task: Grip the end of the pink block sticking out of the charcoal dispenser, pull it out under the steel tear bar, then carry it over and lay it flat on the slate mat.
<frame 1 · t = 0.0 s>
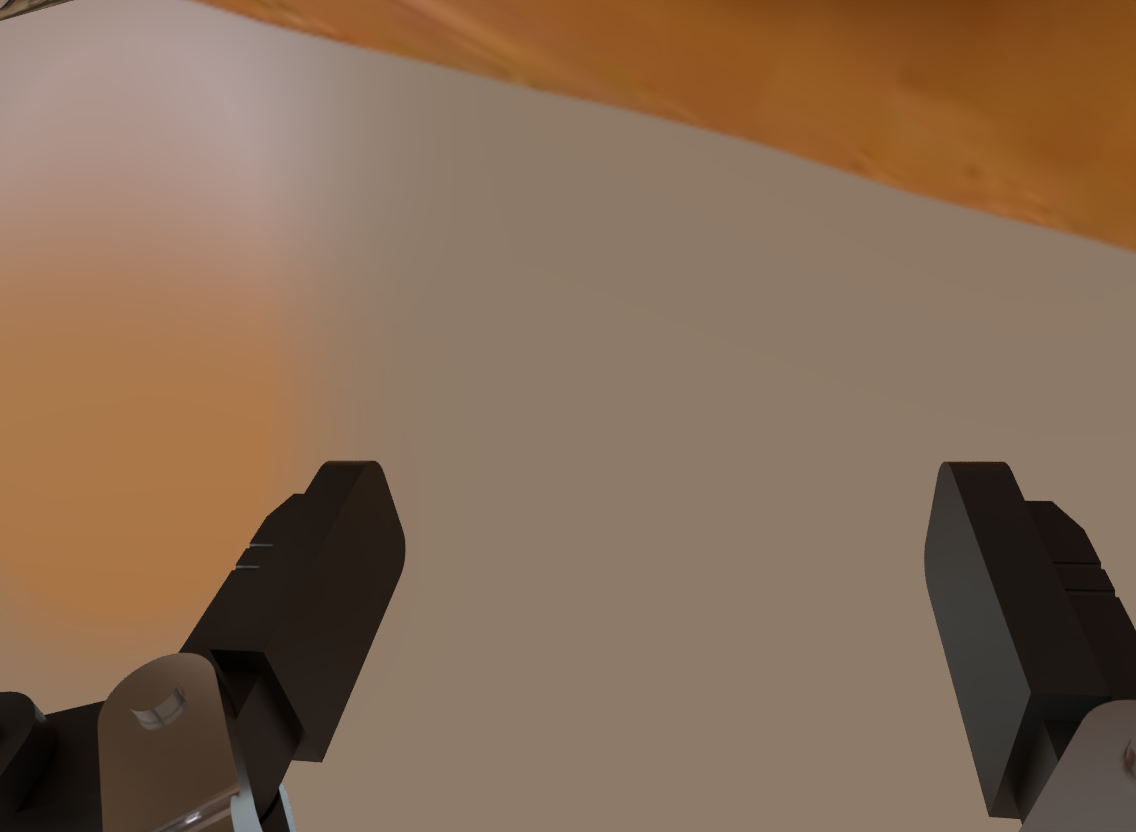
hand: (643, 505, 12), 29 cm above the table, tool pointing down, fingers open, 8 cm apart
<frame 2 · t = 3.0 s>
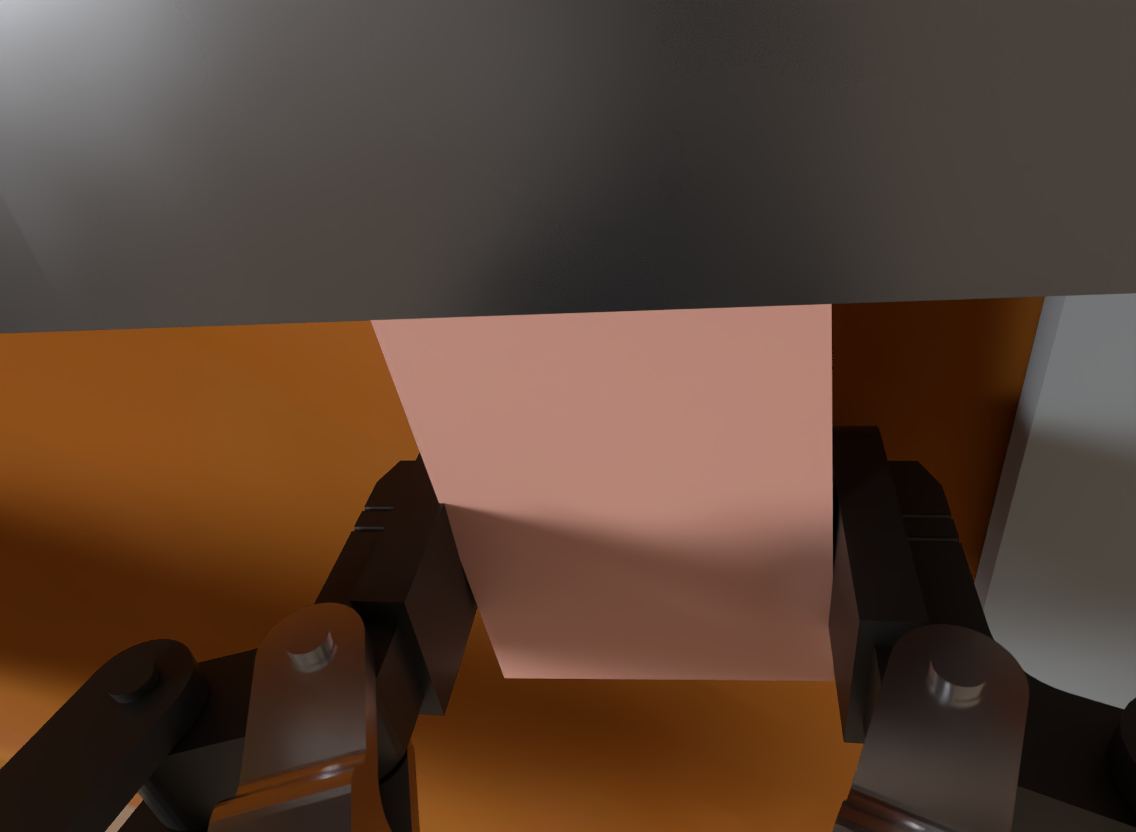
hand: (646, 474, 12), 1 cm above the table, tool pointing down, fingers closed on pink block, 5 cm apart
pink block: (608, 159, 11), on the table, touching gripper
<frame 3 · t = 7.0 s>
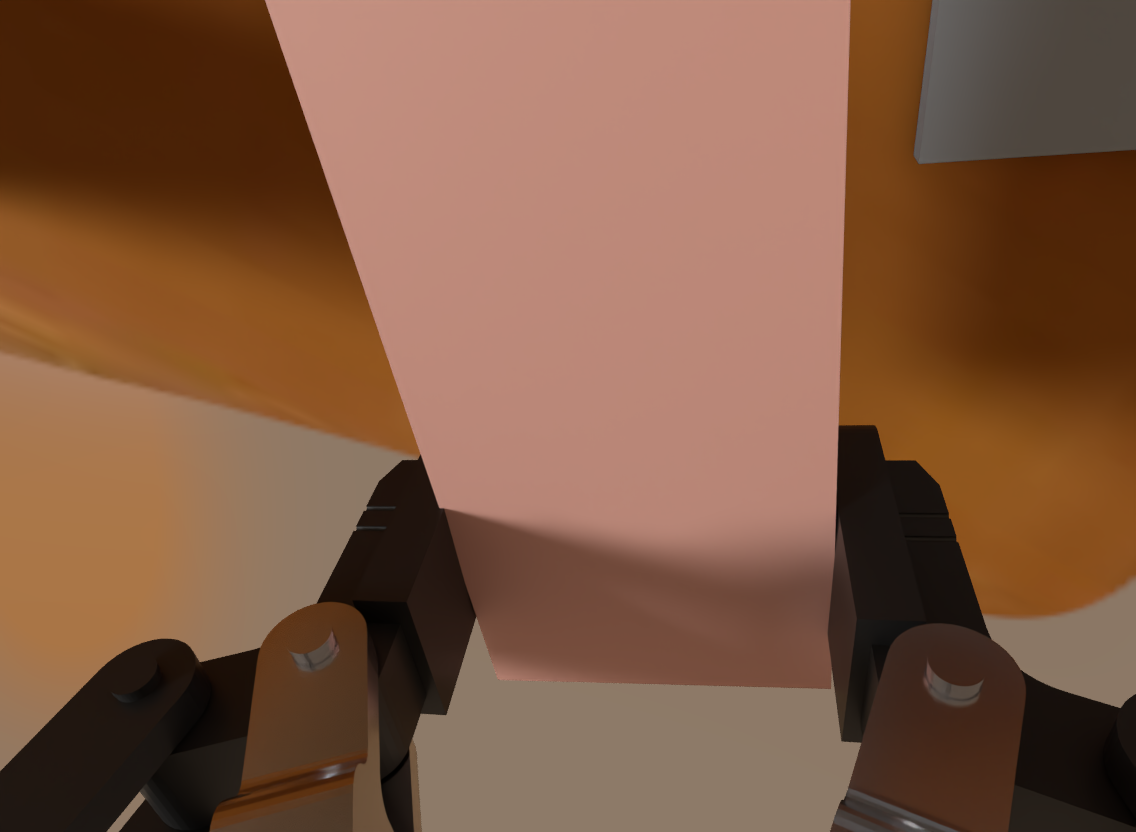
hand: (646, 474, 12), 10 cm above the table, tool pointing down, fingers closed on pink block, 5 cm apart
pink block: (616, 157, 11), point 9 cm above the table, touching gripper
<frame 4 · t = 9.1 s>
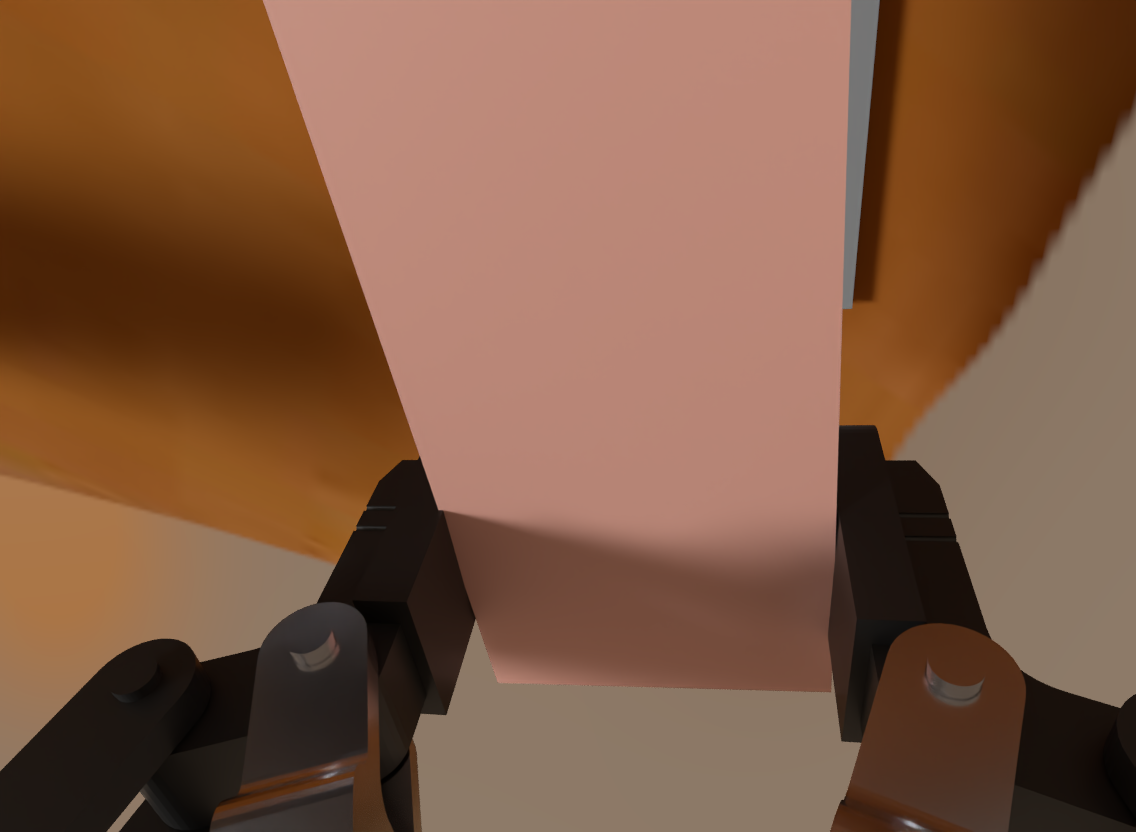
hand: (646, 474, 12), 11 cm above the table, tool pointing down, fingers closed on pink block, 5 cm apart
pink block: (616, 160, 11), point 10 cm above the table, touching gripper
mat: (666, 11, 18), on the table
when the fingers open (3 cm above the table, at t = 10.9 s): pink block drops 1 cm, resting on mat.
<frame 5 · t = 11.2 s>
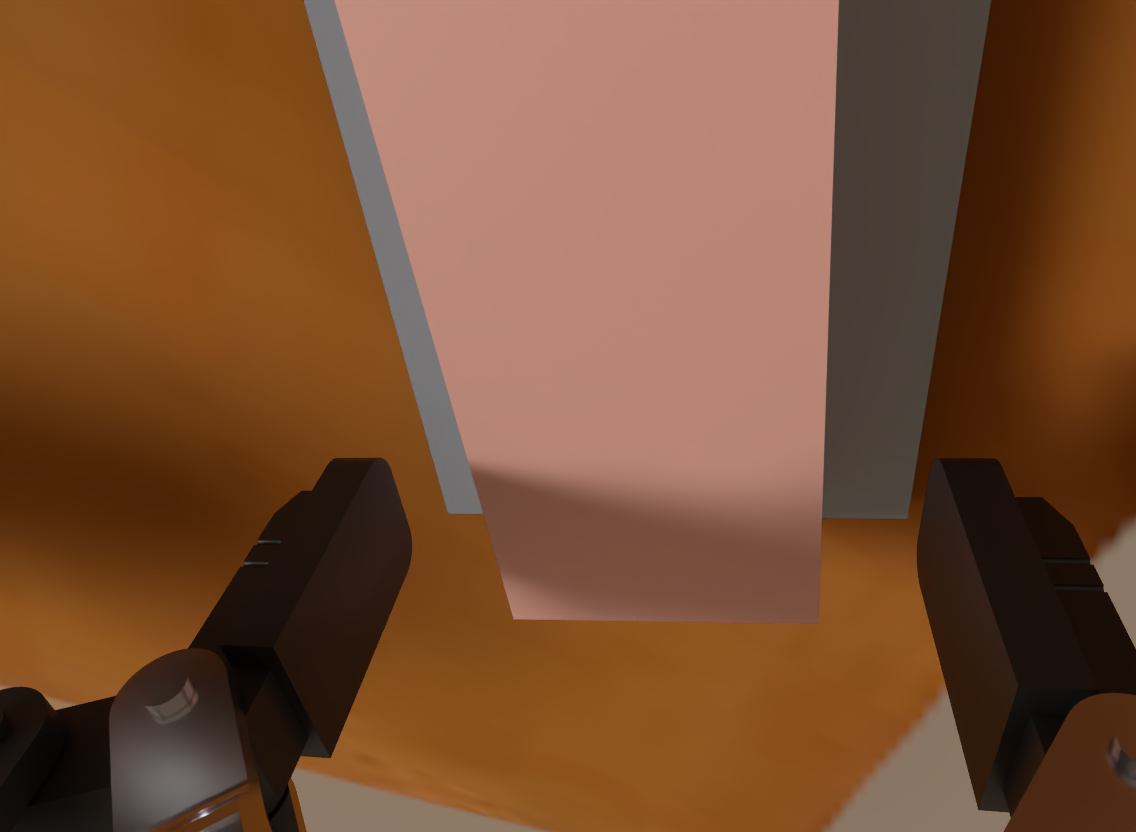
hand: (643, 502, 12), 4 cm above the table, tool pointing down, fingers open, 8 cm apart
pink block: (628, 136, 12), point 1 cm above the table, touching mat
mat: (640, 119, 12), on the table
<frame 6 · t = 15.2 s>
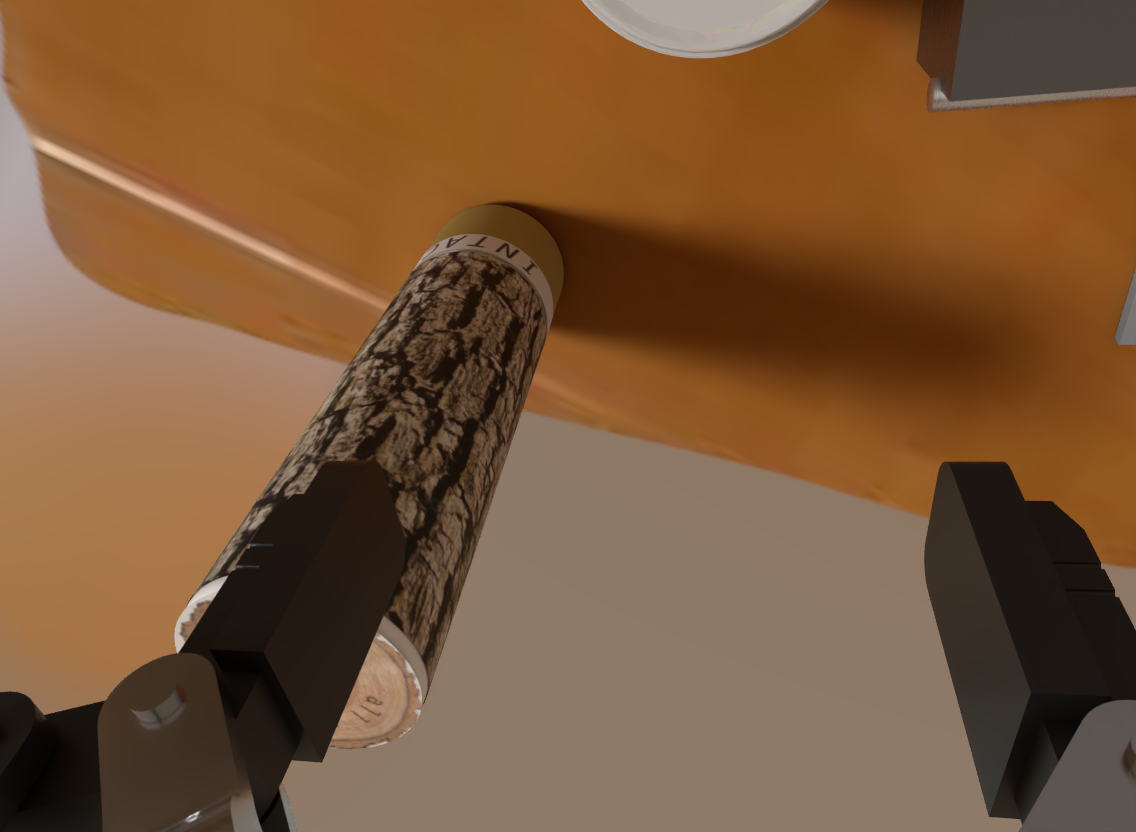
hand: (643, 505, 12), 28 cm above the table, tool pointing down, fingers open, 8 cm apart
bark print canister: (501, 261, 41), on the table
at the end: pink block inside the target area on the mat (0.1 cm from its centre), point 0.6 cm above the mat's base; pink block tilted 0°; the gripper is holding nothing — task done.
